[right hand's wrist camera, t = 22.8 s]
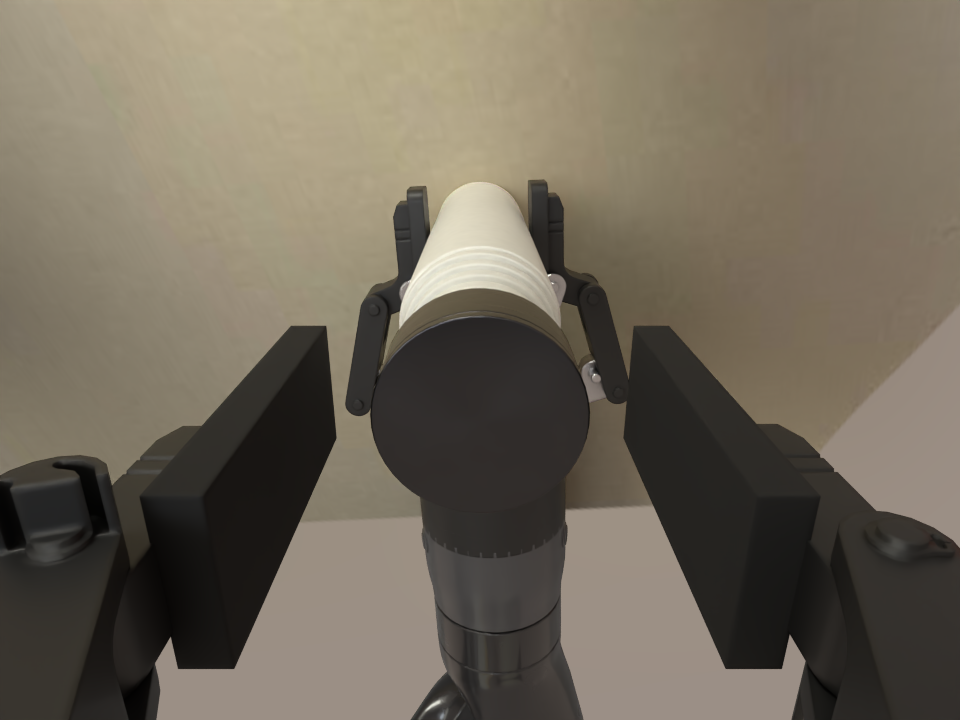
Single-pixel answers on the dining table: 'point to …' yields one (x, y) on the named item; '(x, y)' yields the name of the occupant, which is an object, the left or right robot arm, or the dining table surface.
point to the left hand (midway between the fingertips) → (477, 186)
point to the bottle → (480, 252)
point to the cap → (480, 402)
